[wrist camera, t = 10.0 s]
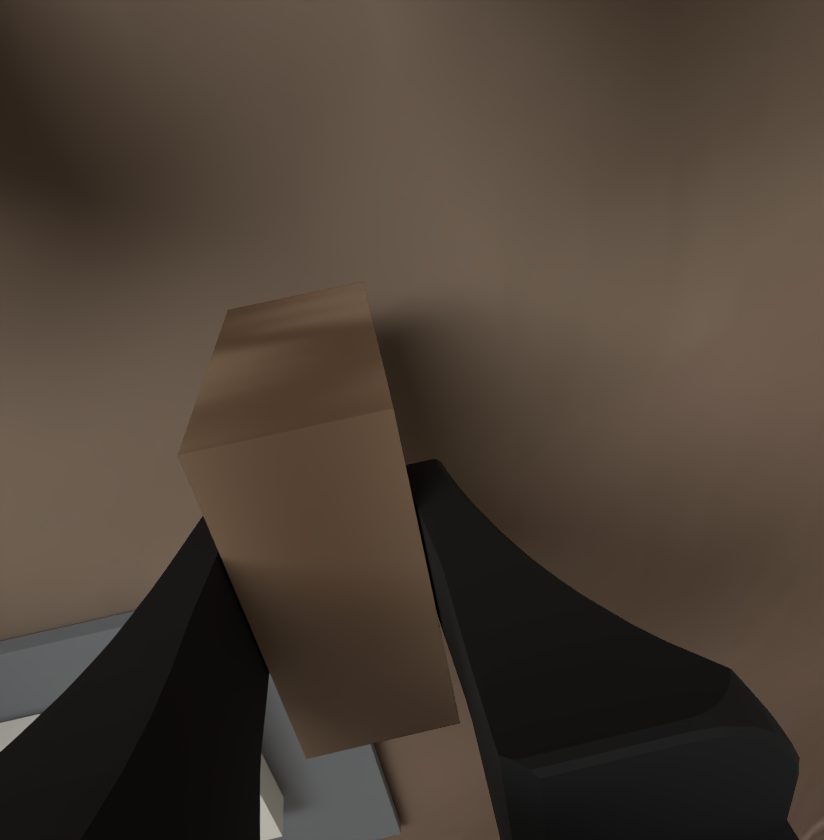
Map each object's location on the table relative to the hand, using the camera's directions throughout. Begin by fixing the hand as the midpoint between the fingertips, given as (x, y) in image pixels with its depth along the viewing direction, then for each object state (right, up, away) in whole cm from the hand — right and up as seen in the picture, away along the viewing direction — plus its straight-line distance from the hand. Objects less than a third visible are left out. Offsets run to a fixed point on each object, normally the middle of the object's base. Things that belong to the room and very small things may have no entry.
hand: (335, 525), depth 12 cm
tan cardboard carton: (0, +2, +4) cm, 4 cm away
